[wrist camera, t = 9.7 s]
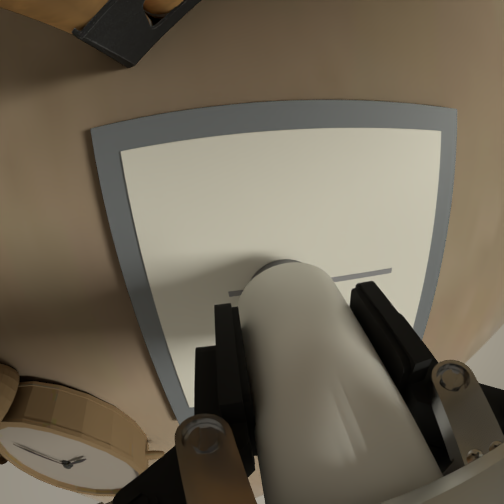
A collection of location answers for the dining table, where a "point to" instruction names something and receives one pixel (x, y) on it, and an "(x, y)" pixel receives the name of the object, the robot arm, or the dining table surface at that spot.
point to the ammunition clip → (108, 22)
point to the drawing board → (272, 209)
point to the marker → (323, 396)
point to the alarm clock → (69, 437)
